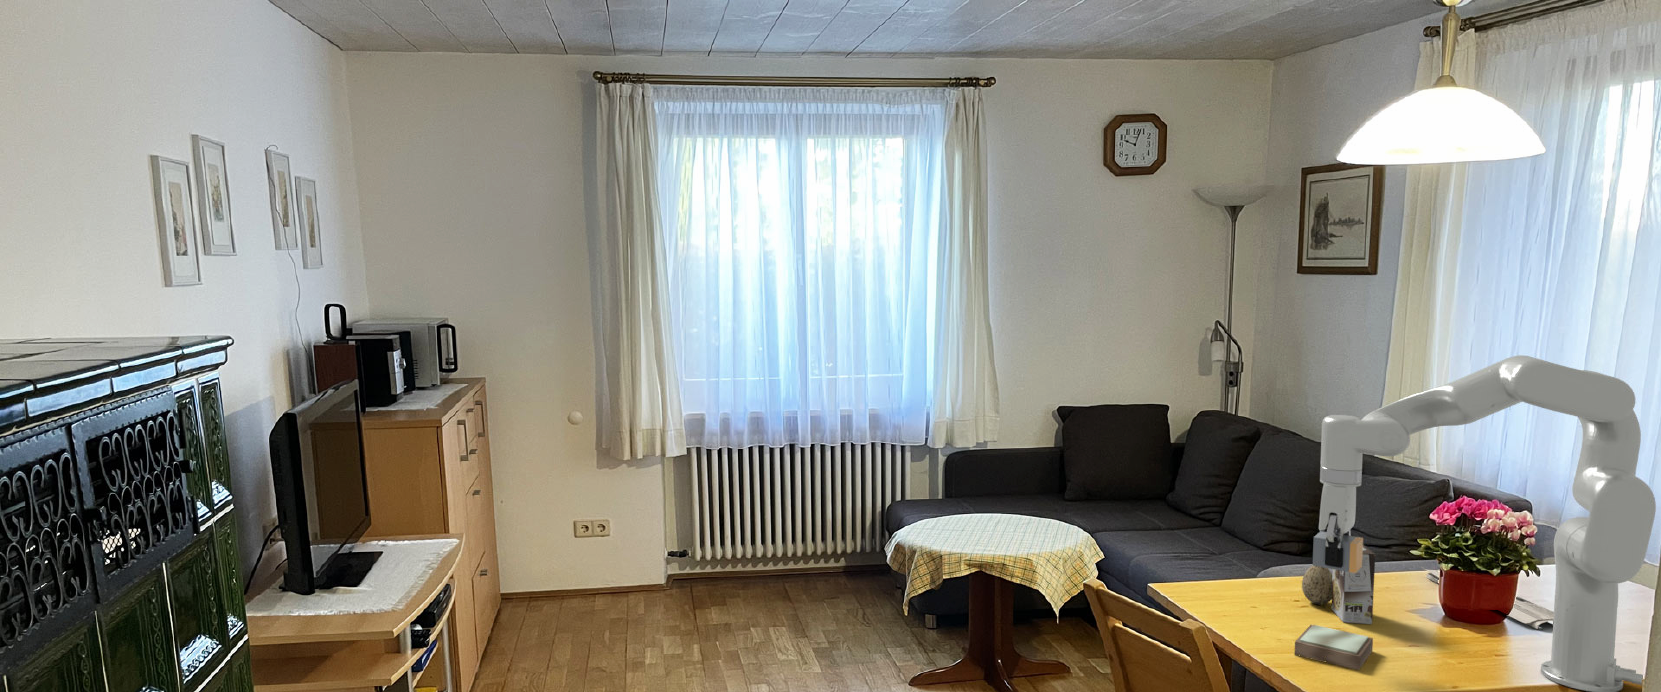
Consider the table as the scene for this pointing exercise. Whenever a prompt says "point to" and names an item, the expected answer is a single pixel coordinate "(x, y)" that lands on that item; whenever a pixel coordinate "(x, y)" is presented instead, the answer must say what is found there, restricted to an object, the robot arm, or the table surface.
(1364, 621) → the coffee box
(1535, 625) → the newspaper
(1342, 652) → the stand
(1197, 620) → the table surface
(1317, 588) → the decorative egg
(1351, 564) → the block
